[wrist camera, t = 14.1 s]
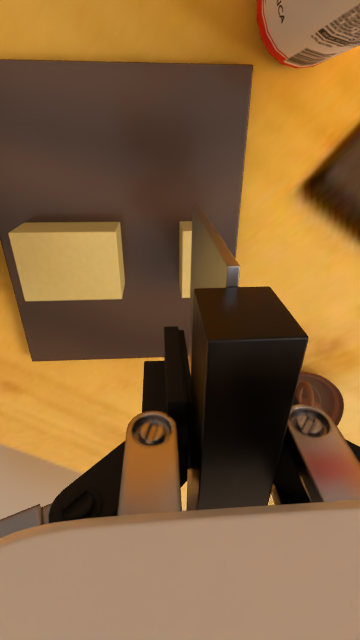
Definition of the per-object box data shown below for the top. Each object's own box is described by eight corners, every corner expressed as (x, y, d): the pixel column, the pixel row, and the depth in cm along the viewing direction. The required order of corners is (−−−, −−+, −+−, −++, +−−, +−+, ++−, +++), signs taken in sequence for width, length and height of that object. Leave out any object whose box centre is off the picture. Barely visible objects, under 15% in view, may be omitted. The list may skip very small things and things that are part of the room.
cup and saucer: (216, 380, 34) (228, 426, 29) (331, 348, 33) (366, 389, 28) (239, 453, 40) (252, 502, 34) (337, 428, 39) (367, 475, 33)
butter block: (23, 222, 24) (7, 232, 21) (120, 221, 24) (116, 231, 22) (37, 285, 26) (24, 301, 24) (125, 283, 27) (122, 299, 24)
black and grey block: (174, 205, 13) (210, 315, 5) (217, 204, 13) (316, 311, 5) (174, 391, 18) (192, 591, 10) (206, 389, 18) (248, 586, 10)
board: (-38, 61, 20) (-48, 57, 19) (248, 68, 21) (253, 64, 20) (36, 354, 31) (32, 361, 30) (224, 348, 32) (226, 355, 31)
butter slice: (179, 221, 25) (182, 230, 22) (205, 220, 25) (211, 230, 22) (179, 282, 27) (181, 298, 24) (203, 282, 27) (208, 297, 25)
